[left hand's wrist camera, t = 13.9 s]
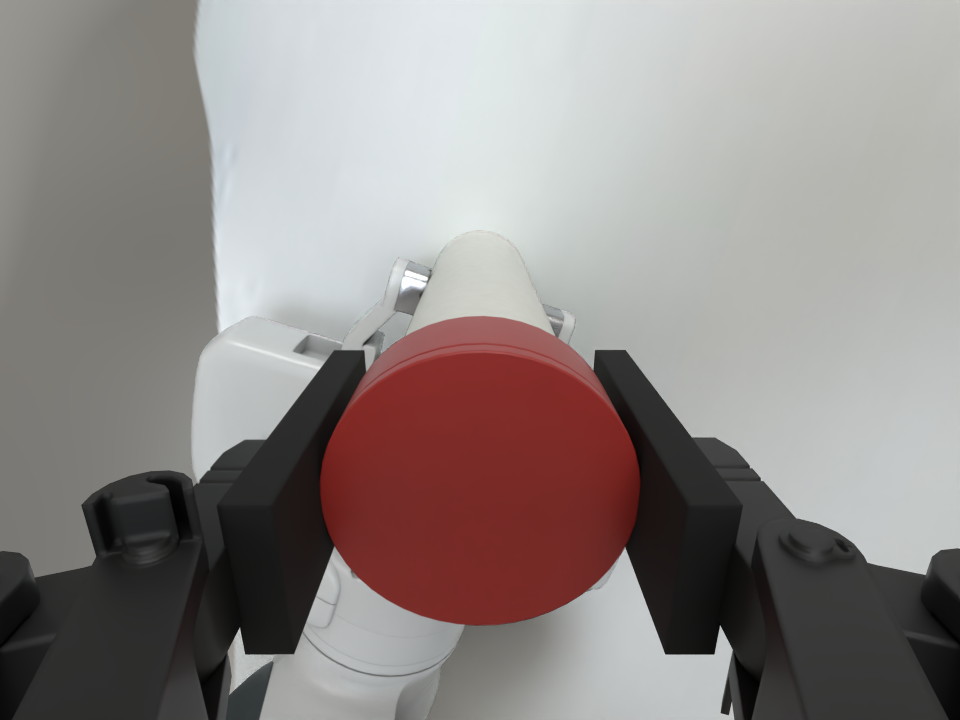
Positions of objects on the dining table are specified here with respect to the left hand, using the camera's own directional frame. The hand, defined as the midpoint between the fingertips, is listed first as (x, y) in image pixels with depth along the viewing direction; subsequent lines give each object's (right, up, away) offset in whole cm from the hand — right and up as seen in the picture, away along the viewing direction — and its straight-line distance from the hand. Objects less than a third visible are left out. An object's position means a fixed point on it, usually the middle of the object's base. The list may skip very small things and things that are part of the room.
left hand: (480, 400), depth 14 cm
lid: (0, -1, -4) cm, 4 cm away
